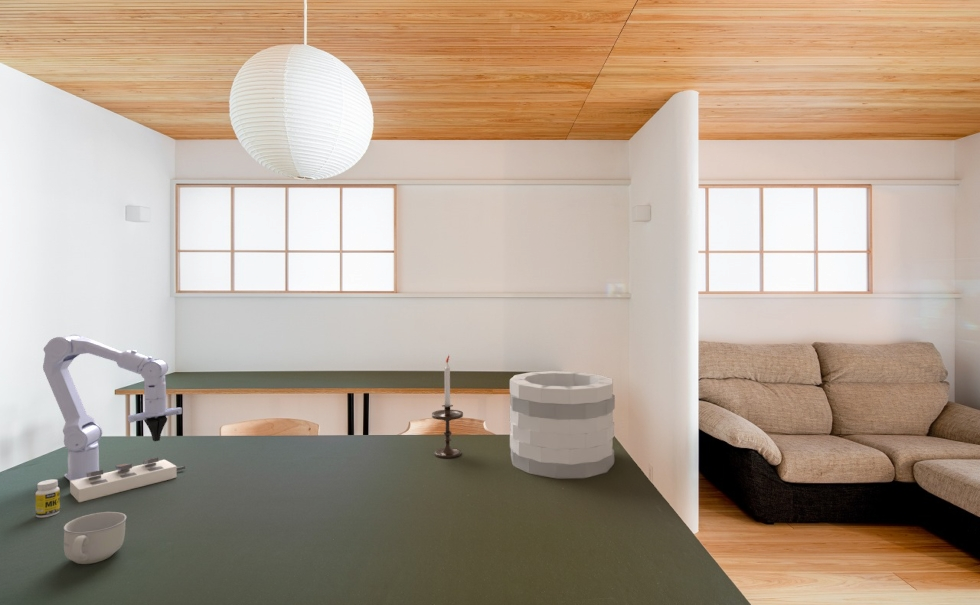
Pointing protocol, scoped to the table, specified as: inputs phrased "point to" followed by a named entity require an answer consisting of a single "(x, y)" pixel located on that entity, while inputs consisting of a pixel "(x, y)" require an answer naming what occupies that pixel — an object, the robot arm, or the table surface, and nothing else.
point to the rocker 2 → (123, 467)
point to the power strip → (122, 480)
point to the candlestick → (447, 419)
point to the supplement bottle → (47, 498)
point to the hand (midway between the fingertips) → (156, 440)
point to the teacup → (94, 537)
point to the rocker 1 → (94, 473)
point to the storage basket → (562, 423)
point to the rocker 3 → (150, 461)
